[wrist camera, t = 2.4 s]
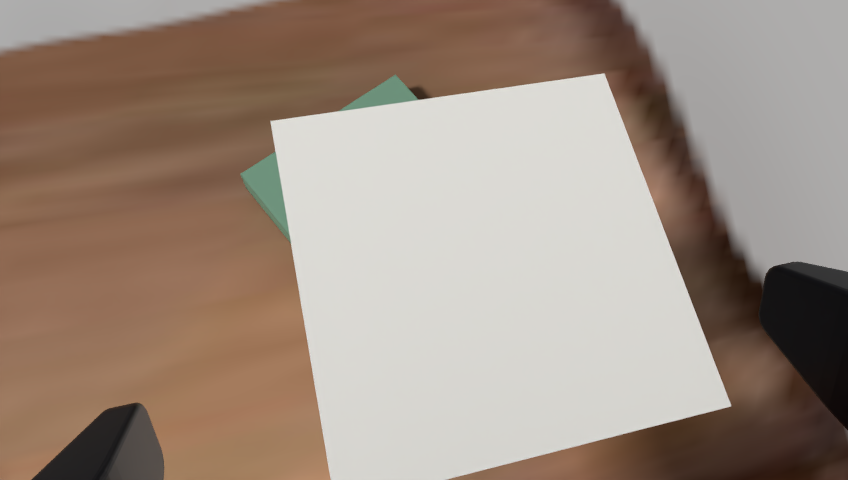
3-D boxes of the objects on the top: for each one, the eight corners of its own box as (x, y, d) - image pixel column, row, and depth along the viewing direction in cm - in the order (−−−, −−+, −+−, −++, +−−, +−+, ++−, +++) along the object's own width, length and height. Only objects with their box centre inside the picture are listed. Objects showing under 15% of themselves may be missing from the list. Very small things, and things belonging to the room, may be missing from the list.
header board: (487, 193, 21) (504, 159, 18) (340, 305, 19) (338, 283, 17) (394, 91, 22) (397, 45, 20) (246, 187, 20) (230, 149, 18)
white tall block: (500, 438, 18) (731, 406, 7) (350, 475, 17) (336, 507, 6) (463, 294, 20) (604, 73, 8) (323, 322, 19) (270, 121, 8)
